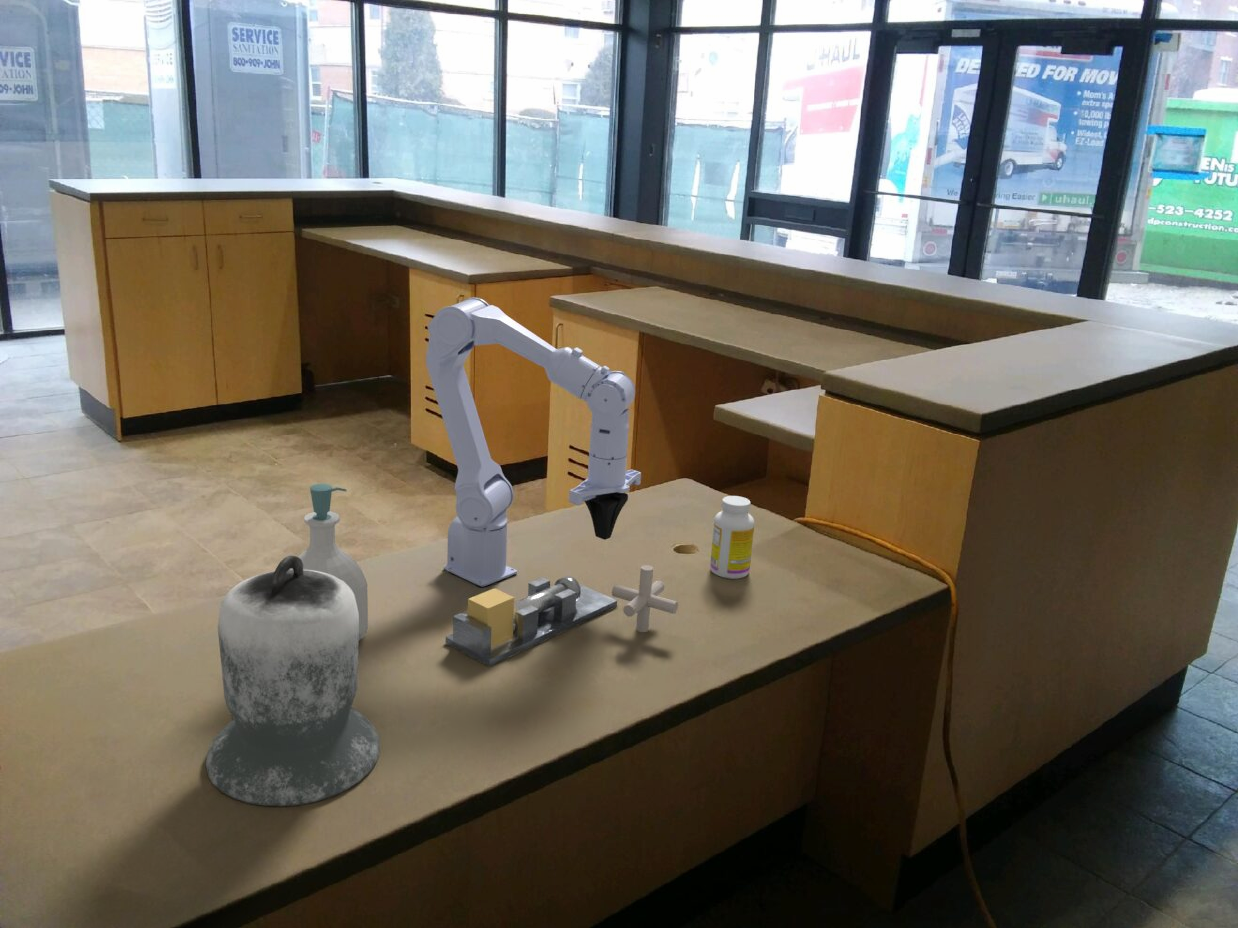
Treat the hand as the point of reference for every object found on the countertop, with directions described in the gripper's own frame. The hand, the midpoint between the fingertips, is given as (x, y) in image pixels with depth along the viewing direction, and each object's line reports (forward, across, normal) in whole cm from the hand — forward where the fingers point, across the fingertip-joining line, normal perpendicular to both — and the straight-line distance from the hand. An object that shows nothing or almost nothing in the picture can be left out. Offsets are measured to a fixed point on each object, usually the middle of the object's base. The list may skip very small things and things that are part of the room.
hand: (602, 536), depth 166 cm
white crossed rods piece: (+10, -4, -12) cm, 16 cm away
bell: (+10, -58, -4) cm, 59 cm away
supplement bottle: (+10, +23, -9) cm, 27 cm away
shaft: (+9, -14, 0) cm, 16 cm away
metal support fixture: (+10, -14, 0) cm, 17 cm away
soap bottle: (+10, -39, +17) cm, 44 cm away
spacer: (+9, -24, 0) cm, 25 cm away
